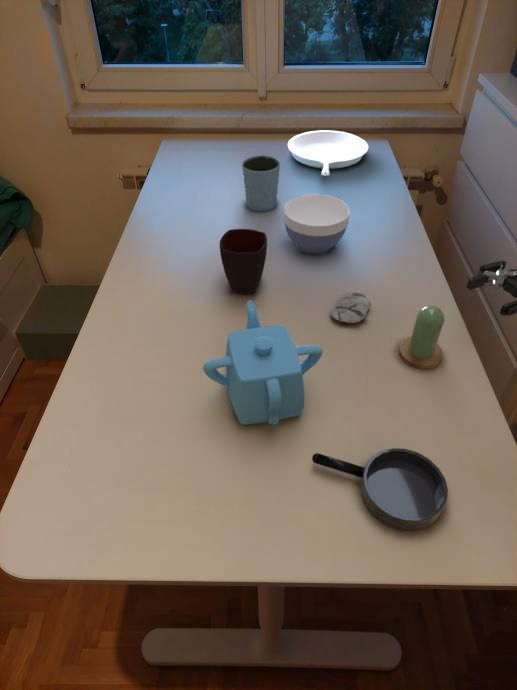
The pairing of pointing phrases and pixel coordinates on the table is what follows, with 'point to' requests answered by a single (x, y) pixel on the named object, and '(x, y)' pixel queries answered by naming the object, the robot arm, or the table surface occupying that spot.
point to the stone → (351, 308)
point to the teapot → (263, 371)
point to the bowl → (316, 221)
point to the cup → (243, 258)
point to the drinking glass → (261, 182)
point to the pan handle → (338, 465)
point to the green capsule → (426, 332)
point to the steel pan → (404, 489)
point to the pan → (327, 149)
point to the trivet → (418, 362)
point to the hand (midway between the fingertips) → (485, 297)
